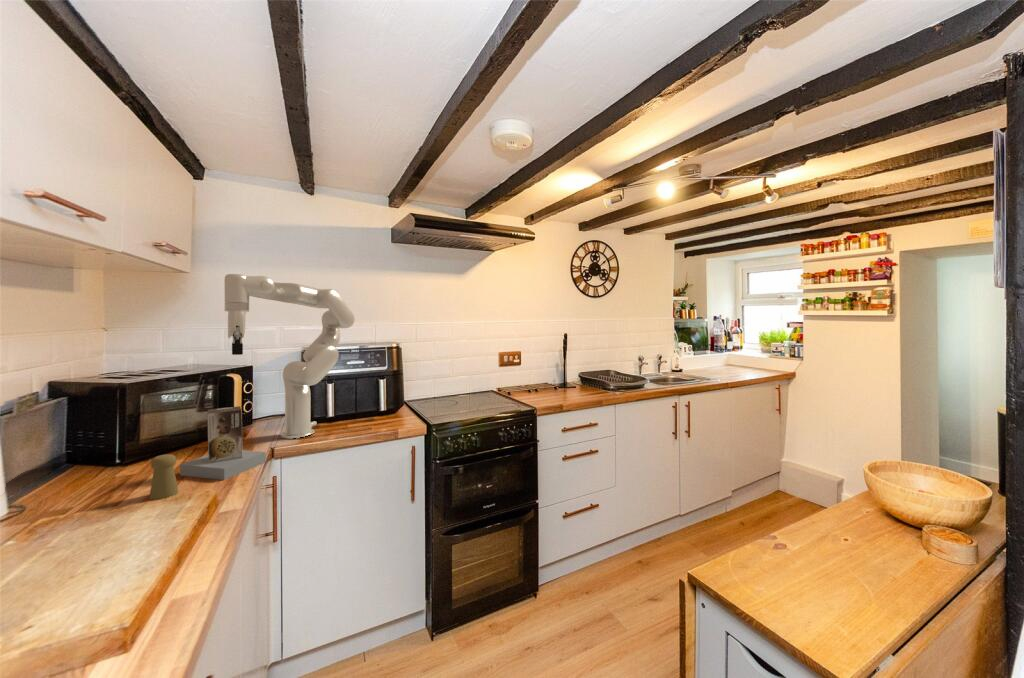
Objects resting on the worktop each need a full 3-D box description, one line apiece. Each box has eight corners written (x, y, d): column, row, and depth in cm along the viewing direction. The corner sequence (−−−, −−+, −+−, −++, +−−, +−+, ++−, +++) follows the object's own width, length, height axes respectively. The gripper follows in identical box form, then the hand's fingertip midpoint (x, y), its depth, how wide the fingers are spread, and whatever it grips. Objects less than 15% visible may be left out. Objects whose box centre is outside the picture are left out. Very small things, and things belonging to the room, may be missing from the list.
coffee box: (241, 452, 134) (241, 405, 133) (242, 457, 129) (242, 409, 128) (207, 457, 128) (207, 408, 128) (208, 463, 123) (207, 412, 123)
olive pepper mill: (168, 498, 106) (168, 459, 106) (143, 500, 105) (142, 459, 105) (183, 489, 112) (183, 451, 112) (159, 490, 111) (159, 452, 111)
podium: (225, 458, 138) (225, 448, 138) (265, 462, 135) (265, 452, 135) (180, 475, 122) (180, 464, 122) (224, 480, 119) (224, 468, 119)
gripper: (225, 307, 150) (225, 352, 151) (224, 306, 136) (224, 355, 137) (248, 308, 154) (248, 351, 155) (250, 307, 140) (250, 355, 141)
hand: (237, 353), depth 146 cm, fingers open, 9 cm apart
